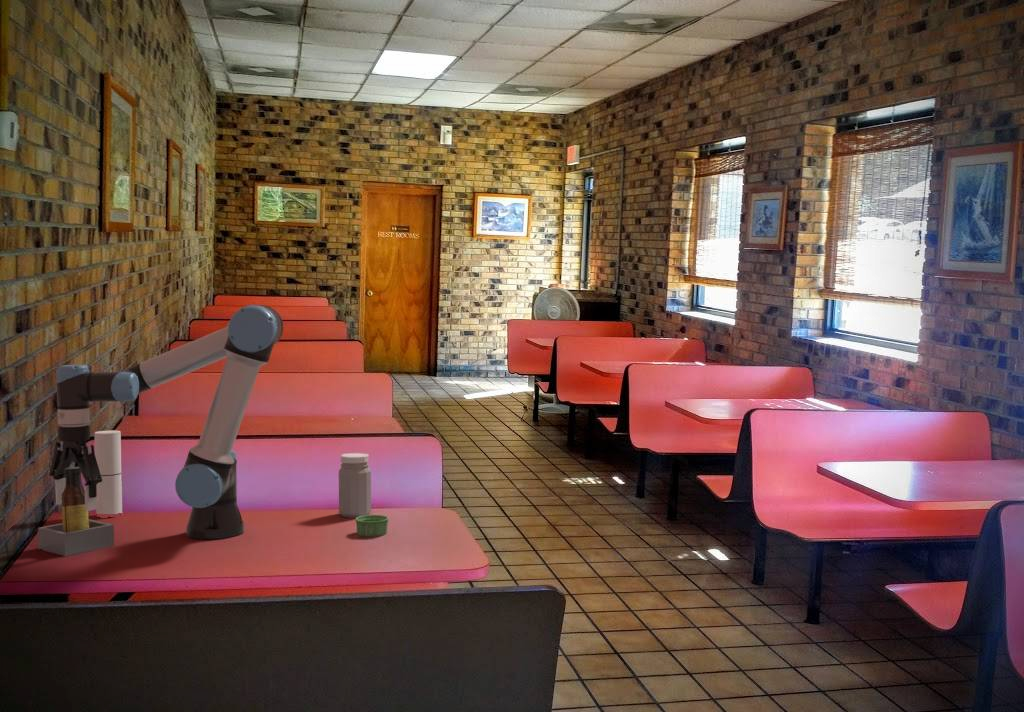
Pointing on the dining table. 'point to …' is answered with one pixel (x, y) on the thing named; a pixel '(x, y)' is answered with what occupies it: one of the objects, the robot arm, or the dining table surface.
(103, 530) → the grey open box
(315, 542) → the dining table surface
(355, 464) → the jar
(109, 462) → the cylindrical container
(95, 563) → the dining table surface
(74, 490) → the sauce bottle
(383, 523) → the ramekin
